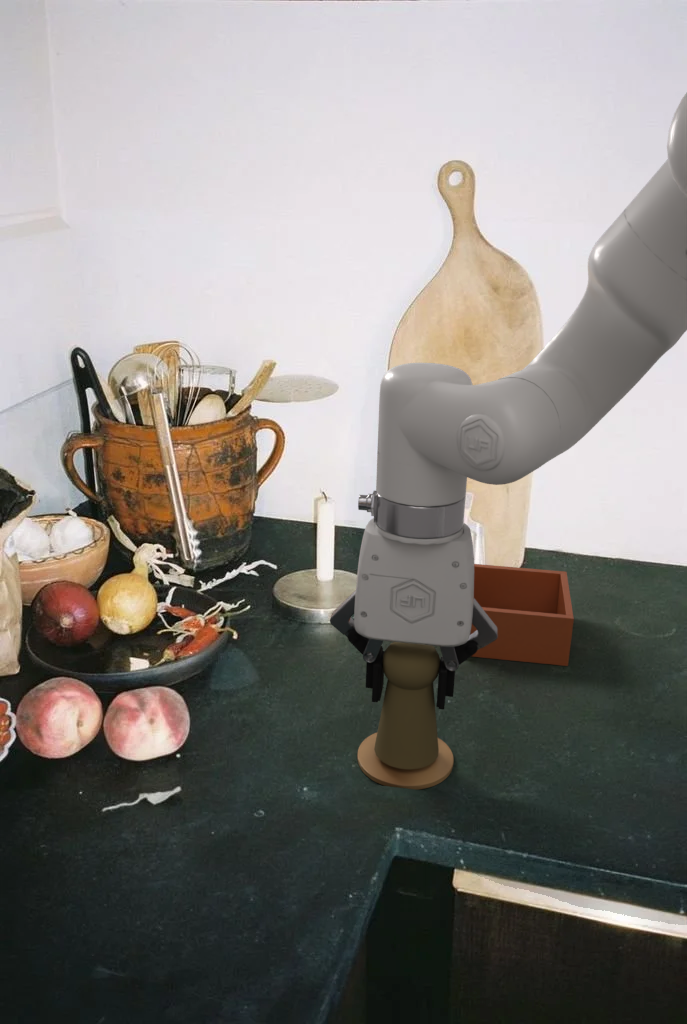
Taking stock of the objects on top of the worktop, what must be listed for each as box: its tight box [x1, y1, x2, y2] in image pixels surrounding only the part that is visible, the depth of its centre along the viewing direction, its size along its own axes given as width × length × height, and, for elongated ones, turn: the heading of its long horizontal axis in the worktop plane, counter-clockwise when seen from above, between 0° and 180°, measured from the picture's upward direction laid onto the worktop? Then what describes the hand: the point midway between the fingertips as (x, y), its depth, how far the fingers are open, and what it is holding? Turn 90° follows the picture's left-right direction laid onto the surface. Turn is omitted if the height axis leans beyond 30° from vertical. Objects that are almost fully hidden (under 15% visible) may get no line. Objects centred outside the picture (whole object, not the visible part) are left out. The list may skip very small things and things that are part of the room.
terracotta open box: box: [470, 563, 575, 667], centre depth 110 cm, size 13×13×6 cm
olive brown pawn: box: [374, 642, 441, 770], centre depth 86 cm, size 6×6×11 cm
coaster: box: [356, 731, 454, 791], centre depth 88 cm, size 9×9×1 cm
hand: (409, 695), depth 85 cm, fingers closed on olive brown pawn, 5 cm apart
